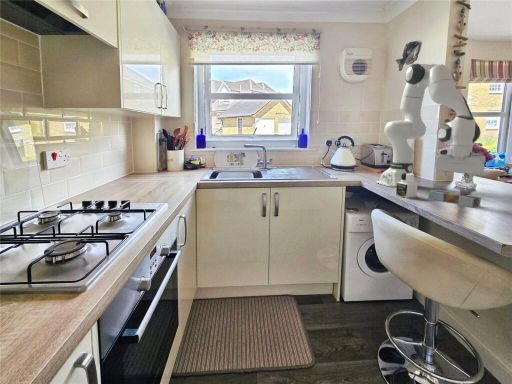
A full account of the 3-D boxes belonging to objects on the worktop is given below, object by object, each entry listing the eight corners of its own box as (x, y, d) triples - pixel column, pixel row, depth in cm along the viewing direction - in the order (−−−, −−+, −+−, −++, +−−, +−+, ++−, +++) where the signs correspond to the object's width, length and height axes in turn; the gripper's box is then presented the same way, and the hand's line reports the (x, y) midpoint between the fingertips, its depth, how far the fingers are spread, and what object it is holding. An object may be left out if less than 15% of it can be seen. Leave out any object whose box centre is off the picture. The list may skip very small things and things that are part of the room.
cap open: (458, 204, 154) (459, 196, 153) (466, 203, 156) (467, 195, 156) (471, 207, 148) (472, 198, 148) (480, 206, 151) (481, 197, 150)
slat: (439, 200, 164) (440, 192, 163) (443, 200, 165) (444, 192, 164) (472, 207, 150) (473, 198, 149) (476, 206, 151) (477, 198, 150)
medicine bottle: (395, 195, 175) (397, 172, 173) (406, 194, 178) (408, 172, 175) (406, 198, 169) (408, 174, 166) (416, 197, 171) (418, 173, 169)
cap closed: (428, 198, 167) (429, 190, 166) (436, 197, 170) (437, 189, 169) (442, 201, 160) (443, 193, 160) (450, 200, 163) (451, 192, 163)
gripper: (489, 153, 146) (484, 184, 149) (441, 149, 163) (438, 177, 166) (483, 154, 143) (478, 185, 146) (434, 150, 159) (431, 179, 162)
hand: (456, 181), depth 156 cm, fingers open, 8 cm apart
